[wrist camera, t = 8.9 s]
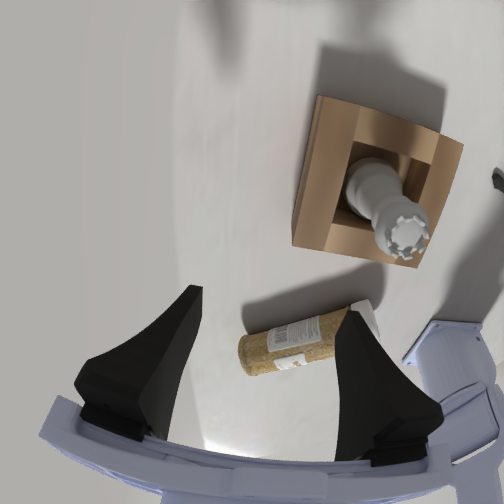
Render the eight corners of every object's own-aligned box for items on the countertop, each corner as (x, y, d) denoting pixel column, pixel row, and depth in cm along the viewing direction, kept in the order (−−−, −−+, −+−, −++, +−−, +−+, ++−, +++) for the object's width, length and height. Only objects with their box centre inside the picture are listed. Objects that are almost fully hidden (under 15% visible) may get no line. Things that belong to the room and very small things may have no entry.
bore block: (440, 134, 17) (463, 144, 14) (402, 244, 22) (416, 268, 19) (316, 95, 17) (323, 95, 14) (291, 222, 22) (292, 245, 19)
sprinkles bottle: (248, 385, 26) (384, 352, 22) (230, 347, 26) (372, 308, 22) (260, 362, 31) (378, 331, 26) (245, 328, 30) (367, 291, 26)
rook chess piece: (407, 186, 19) (457, 239, 12) (365, 222, 21) (396, 288, 14) (371, 142, 18) (419, 178, 11) (327, 183, 20) (349, 239, 13)
